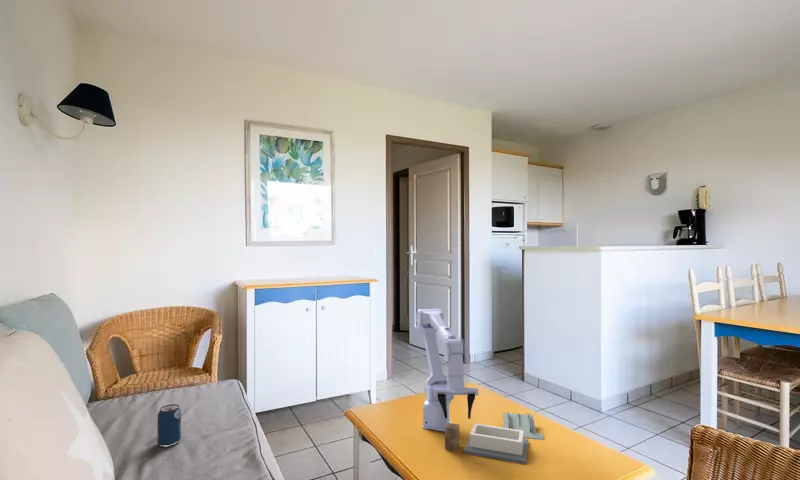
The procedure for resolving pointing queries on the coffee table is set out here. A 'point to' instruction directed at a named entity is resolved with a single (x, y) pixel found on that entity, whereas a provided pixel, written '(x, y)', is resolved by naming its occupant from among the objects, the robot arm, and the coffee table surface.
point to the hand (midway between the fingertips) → (457, 417)
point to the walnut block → (452, 436)
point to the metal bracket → (522, 424)
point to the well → (497, 443)
